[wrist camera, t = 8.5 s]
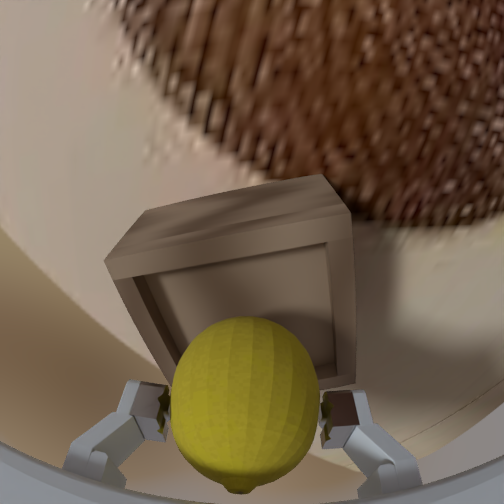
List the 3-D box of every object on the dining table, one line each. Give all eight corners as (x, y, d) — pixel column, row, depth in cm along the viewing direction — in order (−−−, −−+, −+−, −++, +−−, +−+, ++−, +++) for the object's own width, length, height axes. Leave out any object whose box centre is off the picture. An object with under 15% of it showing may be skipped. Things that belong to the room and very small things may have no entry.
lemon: (297, 369, 16) (306, 511, 9) (192, 359, 16) (162, 500, 9) (320, 284, 13) (357, 463, 6) (189, 271, 13) (131, 446, 6)
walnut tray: (320, 172, 16) (350, 212, 11) (336, 316, 21) (355, 383, 16) (146, 209, 17) (103, 260, 12) (196, 337, 22) (182, 404, 17)
